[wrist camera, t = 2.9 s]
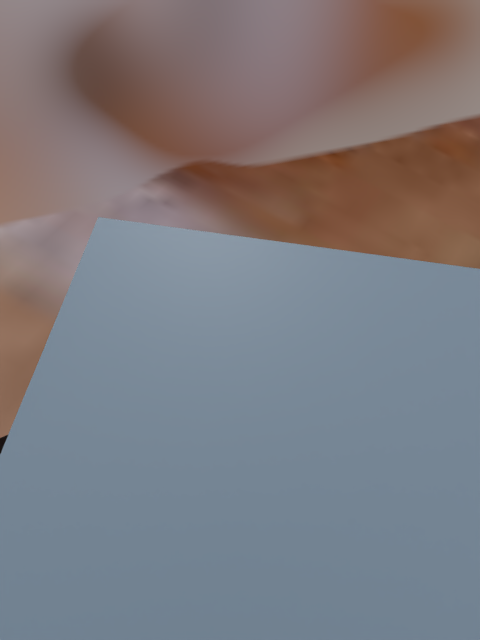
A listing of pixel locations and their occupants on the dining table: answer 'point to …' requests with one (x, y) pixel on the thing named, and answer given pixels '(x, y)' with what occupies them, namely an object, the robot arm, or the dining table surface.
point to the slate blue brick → (247, 447)
